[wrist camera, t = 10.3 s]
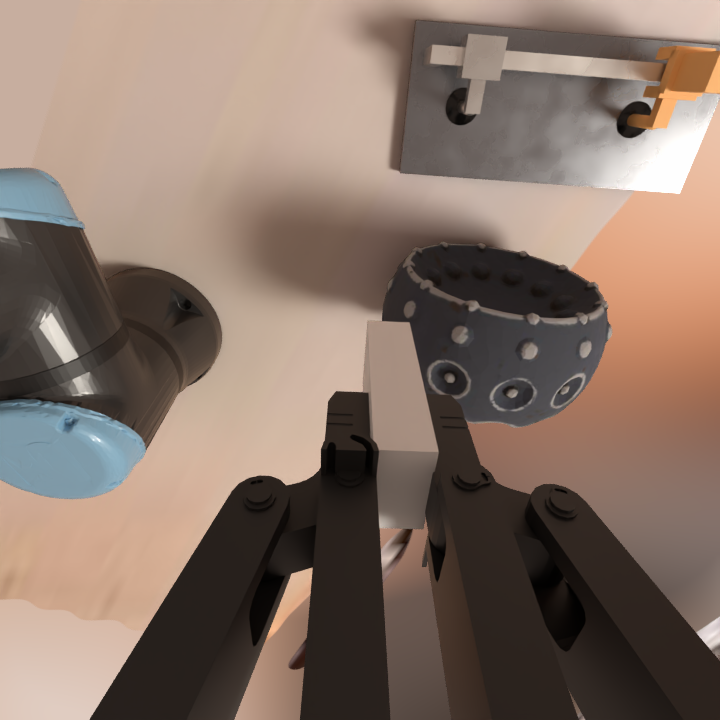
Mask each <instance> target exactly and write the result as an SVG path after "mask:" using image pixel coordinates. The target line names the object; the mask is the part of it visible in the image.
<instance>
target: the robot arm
mask: <svg viewBox="0 0 720 720" xmlns="http://www.w3.org/2000/svg"><path fill="white" fill-rule="evenodd" d="M83 229H85V226H84V224H83V223H82V222H81V221H79V220H78V218H77V216H76V214H75V212H74V210H73V208H72V206H71V205H70V203H69V201H68V199H67V197H66V195H65V193H64V191H63V189H62V187H61V186H60V184H59V183H58V182H57V181H56V180H55V179H54V178H53V177H52V176H50V175H49V174H47V173H45V172H43V171H41V170H38V169H34V168H10V169H9V168H8V169H0V480H2V481H4V482H6V483H8V484H10V485H12V486H14V487H16V488H19V489H21V490H24V491H28V492H32V493H35V494H38V495H42V496H46V497H51V498H60V499H84V498H91V497H95V496H99V495H102V494H105V493H107V492H109V491H111V490H113V489H115V488H116V487H118V486H119V485H120V484H121V483H122V482H123V481H124V480H125V479H126V478H127V476H128V475H129V473H130V472H131V471H132V469H133V468H134V466H135V465H136V464H137V463H138V462H139V461H140V460H141V459H142V458H143V457H144V455H145V452H146V450H147V448H148V446H149V444H150V443H151V441H152V439H153V437H154V436H155V434H156V432H157V430H158V428H159V427H160V425H161V423H162V421H163V420H164V418H165V416H166V414H167V413H168V411H169V409H170V407H171V405H172V404H173V402H174V400H175V398H176V397H177V395H178V393H180V392H181V391H183V390H184V389H185V388H186V387H187V386H189V385H191V384H193V383H195V382H197V381H198V380H200V379H201V378H202V377H203V376H204V375H205V374H206V373H207V372H208V371H209V370H210V369H211V367H212V365H213V364H214V362H215V360H216V358H217V356H218V354H219V352H220V348H221V344H222V331H221V326H220V322H219V319H218V317H217V314H216V312H215V310H214V309H213V307H212V306H211V304H210V303H209V301H208V300H207V299H206V298H205V297H204V296H203V295H202V294H201V293H200V292H199V291H198V290H197V289H196V288H195V287H193V286H192V285H191V284H189V283H188V282H186V281H185V280H183V279H181V278H179V277H177V276H175V275H173V274H170V273H167V272H164V271H160V270H155V269H146V268H139V269H131V270H126V271H123V272H120V273H118V274H116V275H114V276H112V277H111V278H109V279H108V280H107V281H106V279H105V277H104V274H103V272H102V270H101V268H100V266H99V263H98V261H97V259H96V257H95V254H94V252H93V250H92V248H91V246H90V243H89V241H88V239H87V237H86V235H85V232H84V230H83ZM425 518H426V521H427V527H428V536H427V540H426V545H425V550H424V555H423V561H422V567H426V566H427V561H428V565H429V573H430V579H431V586H432V593H433V599H434V606H435V613H436V620H437V627H438V633H439V640H440V647H441V653H442V660H443V667H444V673H445V681H446V687H447V694H448V701H449V707H450V714H451V720H579V719H578V716H577V713H576V711H575V708H574V705H573V702H572V699H571V696H570V693H569V691H570V692H571V694H572V696H573V698H574V700H575V701H576V703H577V705H578V707H579V709H580V711H581V712H582V714H583V716H584V718H585V720H720V661H719V660H718V658H717V657H716V656H715V655H714V654H713V652H712V651H711V650H710V649H709V648H708V647H707V645H706V644H705V643H704V642H703V641H702V639H701V638H700V637H699V636H698V635H697V633H696V632H695V631H694V630H693V629H692V628H691V626H690V625H689V624H688V623H687V622H686V620H685V619H684V618H683V617H682V616H681V614H680V613H679V612H678V611H677V610H676V608H675V607H674V606H673V605H672V604H671V602H670V601H669V600H668V599H667V598H666V597H665V595H664V594H663V593H662V592H661V591H660V589H659V588H658V587H657V586H656V585H655V583H654V582H653V581H652V580H651V579H650V577H649V576H648V575H647V574H646V573H645V572H644V570H643V569H642V568H641V567H640V566H639V564H638V563H637V562H636V561H635V560H634V558H633V557H632V556H631V555H630V554H629V553H628V551H627V550H626V549H625V548H624V547H623V545H622V544H621V543H620V542H619V541H618V539H617V538H616V537H615V536H614V535H613V534H612V532H611V531H610V530H609V529H608V527H607V526H606V525H605V524H604V523H603V522H602V520H601V519H600V518H599V517H598V516H597V515H596V513H595V512H594V511H593V510H592V508H591V507H590V506H589V505H588V504H587V503H586V501H584V500H583V499H582V498H581V497H580V496H579V495H578V494H577V493H575V492H573V491H571V490H570V489H568V488H566V487H563V486H559V485H555V484H543V485H541V486H538V487H536V488H535V490H534V491H533V492H532V494H531V495H530V494H527V493H523V492H520V491H516V490H513V489H510V488H507V487H504V486H502V485H500V484H498V483H497V482H496V481H495V479H494V478H493V476H492V474H491V473H490V472H489V471H488V470H487V469H485V468H484V467H483V466H481V465H480V462H479V459H478V456H477V453H476V450H475V447H474V444H473V441H472V437H471V434H470V432H469V429H468V425H467V422H466V420H465V416H464V413H463V410H462V407H461V405H460V404H459V403H458V402H457V401H456V400H455V399H454V398H453V397H452V395H440V394H426V393H425V389H424V384H423V380H422V376H421V371H420V367H419V362H418V358H417V353H416V349H415V345H414V340H413V336H412V331H411V327H410V322H388V321H367V333H366V347H365V361H364V375H363V392H340V391H336V392H335V393H334V395H333V396H332V397H331V398H330V400H329V401H328V411H327V422H326V434H325V441H324V443H323V446H322V448H321V468H320V469H319V471H318V472H317V473H316V474H315V475H314V476H313V477H311V478H309V479H307V480H305V481H302V482H299V483H296V484H292V485H287V486H286V485H285V484H284V483H283V482H282V481H281V480H279V479H277V478H274V477H272V476H256V477H252V478H248V479H246V480H245V481H243V482H241V483H239V484H238V485H237V486H236V487H235V489H234V490H233V491H232V492H231V494H230V495H229V497H228V498H227V500H226V502H225V503H224V505H223V506H222V508H221V510H220V511H219V513H218V514H217V516H216V518H215V519H214V521H213V522H212V524H211V526H210V527H209V529H208V530H207V532H206V534H205V535H204V537H203V539H202V540H201V542H200V543H199V545H198V547H197V548H196V550H195V551H194V553H193V555H192V556H191V558H190V559H189V561H188V563H187V564H186V566H185V567H184V569H183V571H182V572H181V574H180V575H179V577H178V579H177V580H176V582H175V583H174V585H173V587H172V588H171V590H170V591H169V593H168V595H167V596H166V598H165V599H164V601H163V603H162V604H161V606H160V607H159V609H158V611H157V612H156V614H155V615H154V617H153V619H152V620H151V622H150V623H149V625H148V627H147V628H146V630H145V631H144V633H143V635H142V636H141V638H140V640H139V641H138V643H137V644H136V646H135V648H134V649H133V651H132V653H131V654H130V656H129V657H128V659H127V660H126V662H125V664H124V665H123V667H122V668H121V670H120V672H119V673H118V675H117V676H116V678H115V680H114V681H113V683H112V685H111V686H110V688H109V689H108V691H107V692H106V694H105V696H104V697H103V699H102V700H101V702H100V704H99V706H98V707H97V708H96V710H95V712H94V713H93V715H92V716H91V718H90V720H234V719H235V716H236V714H237V711H238V708H239V706H240V703H241V701H242V698H243V696H244V693H245V691H246V688H247V686H248V683H249V680H250V678H251V675H252V673H253V670H254V668H255V665H256V663H257V660H258V658H259V655H260V652H261V650H262V647H263V645H264V642H265V640H266V637H267V635H268V632H269V630H270V627H271V625H272V622H273V619H274V617H275V614H276V612H277V609H278V607H279V604H280V602H281V599H282V597H283V594H284V592H285V589H286V586H287V584H288V581H289V579H290V576H291V574H292V573H295V572H298V571H302V570H305V569H308V568H312V567H313V573H312V584H311V596H310V608H309V620H308V631H307V632H308V633H307V643H306V655H305V667H304V679H303V691H302V702H301V715H300V720H390V706H389V688H388V671H387V653H386V636H385V618H384V600H383V582H382V565H381V547H380V530H379V528H400V529H423V528H424V523H425ZM567 687H568V688H567ZM568 689H569V691H568Z"/></svg>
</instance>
